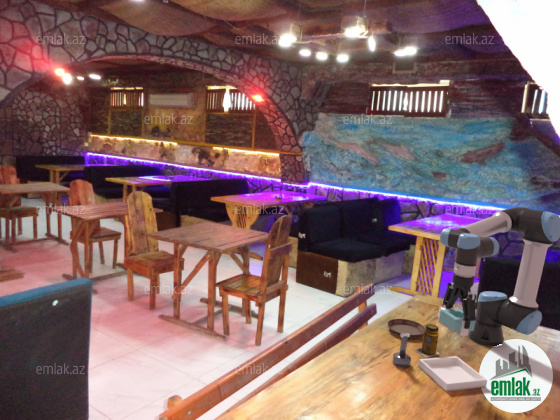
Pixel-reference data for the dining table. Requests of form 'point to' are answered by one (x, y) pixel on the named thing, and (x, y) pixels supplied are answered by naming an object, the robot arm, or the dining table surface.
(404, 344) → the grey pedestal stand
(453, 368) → the tray
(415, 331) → the plant saucer
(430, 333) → the condiment
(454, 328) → the collar
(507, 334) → the dining table surface
